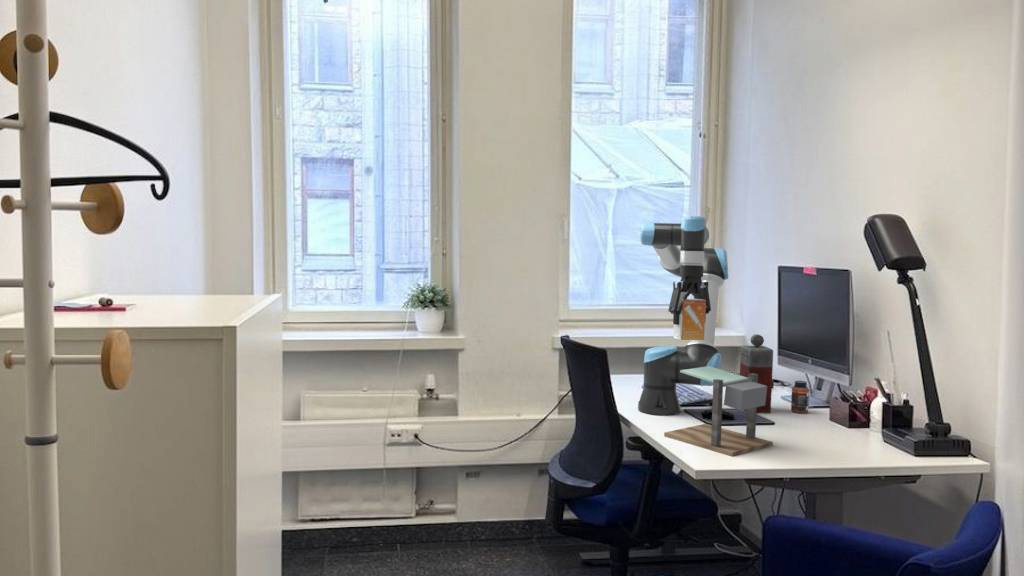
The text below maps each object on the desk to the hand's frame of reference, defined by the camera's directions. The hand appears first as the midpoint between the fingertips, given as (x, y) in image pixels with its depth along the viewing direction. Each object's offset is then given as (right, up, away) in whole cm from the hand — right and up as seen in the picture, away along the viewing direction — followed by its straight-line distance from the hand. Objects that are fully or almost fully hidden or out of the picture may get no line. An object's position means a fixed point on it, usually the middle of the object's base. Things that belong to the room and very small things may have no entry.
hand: (689, 334), depth 245 cm
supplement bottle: (+48, -31, +34) cm, 66 cm away
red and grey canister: (+32, -30, +37) cm, 57 cm away
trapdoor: (+8, -19, -9) cm, 23 cm away
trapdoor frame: (+7, -33, -7) cm, 34 cm away
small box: (0, -2, 0) cm, 2 cm away
